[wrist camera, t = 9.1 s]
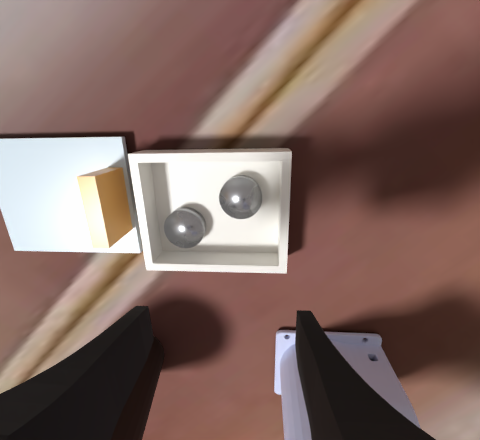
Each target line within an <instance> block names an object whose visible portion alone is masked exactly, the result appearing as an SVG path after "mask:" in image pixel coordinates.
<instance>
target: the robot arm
mask: <svg viewBox="0 0 480 440" xmlns="http://www.w3.org/2000/svg"><path fill="white" fill-rule="evenodd" d="M285 335H289V336H285ZM364 338H366V339H364ZM153 341H154V337H153V331H152V325H151V320H150V314H149V308H148V306H136V307H134V308H133V309H132V310H130V311H129V312H128V313H126V314H125V315H124V316H123V317H121V318H120V319H119V320H118V321H116V322H115V323H114V324H113V325H111V326H110V327H109V328H108V329H106V330H105V331H104V332H102V333H101V334H100V335H98V336H97V337H96V338H94V339H93V340H92V341H90V342H89V343H87V344H86V345H85V346H83V347H82V348H81V349H79V350H78V351H76V352H75V353H73V354H72V355H70V356H69V357H67V358H66V359H64V360H62V361H61V362H59V363H57V364H56V365H54V366H53V367H51V368H49V369H47V370H45V371H44V372H42V373H40V374H38V375H36V376H35V377H33V378H31V379H29V380H27V381H26V382H24V383H22V384H20V385H18V386H16V387H14V388H12V389H10V390H8V391H5V392H3V393H1V394H0V440H111V437H112V435H113V432H114V430H115V427H116V424H117V422H118V419H119V417H120V415H121V412H122V410H123V408H124V406H125V404H126V402H127V400H128V398H129V396H130V394H131V392H132V390H133V388H134V385H135V383H136V381H137V379H138V377H139V375H140V373H141V371H142V369H143V367H144V365H145V363H146V361H147V358H148V355H149V353H150V350H151V347H152V344H153ZM381 343H382V338H381V337H380V335H379V334H371V333H346V332H324V331H323V329H322V328H321V326H320V325H319V323H318V321H317V320H316V318H315V317H314V315H313V313H312V312H311V311H297V320H296V330H279V331H277V332H276V351H275V384H274V390H275V393H277V394H280V395H282V410H283V425H284V440H436V439H434V438H433V437H431V436H430V435H429V434H427V433H426V432H424V431H423V430H422V429H421V428H420V425H419V422H418V419H417V416H416V414H415V411H414V409H413V407H412V405H411V403H410V401H409V399H408V397H407V395H406V393H405V391H404V389H403V387H402V385H401V383H400V382H399V380H398V378H397V376H396V374H395V372H394V370H393V368H392V366H391V364H390V362H389V361H388V359H387V357H386V355H385V353H384V351H383V349H382V347H381Z"/></svg>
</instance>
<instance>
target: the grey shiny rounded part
mask: <svg viewBox="0 0 480 440" xmlns="http://www.w3.org/2000/svg"><path fill="white" fill-rule="evenodd" d="M164 232H165V235H166V237H167V238H168V240H169V241H170V242H171V243H172V244H174V245H176V246H178V247H181V248H192V247H194V246H196V245H198V244H199V243H200V241H201V240H202V238H203V236H204V235H205V232H206V221H205V219H204V217H203V215H202V214H201V213H200V212H199V211H197V210H196V209H194V208H191V207H180V208H177V209H176V210H174V211H173V212H172V213H171V214H170V215H169V216H168V217H167V218H166V220H165V223H164Z"/></svg>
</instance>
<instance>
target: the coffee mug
mask: <svg viewBox="0 0 480 440" xmlns="http://www.w3.org/2000/svg"><path fill="white" fill-rule="evenodd" d="M153 337H154V341H153V344H152V347H151V350H150V353H149V355H148V358H147V361H146V363H145V365H144V367H143V369H142V371H141V373H140V375H139V377H138V379H137V381H136V383H135V385H134V388H133V390H132V392H131V394H130V396H129V398H128V400H127V402H126V404H125V406H124V408H123V410H122V412H121V415H120V417H119V419H118V422H117V424H116V427H115V430H114V432H113V435H112V437H111V440H142V437H143V434H144V430H145V426H146V423H147V419H148V415H149V412H150V408H151V404H152V401H153V397H154V393H155V390H156V386H157V382H158V379H159V375H160V371H161V368H162V364H163V360H164V350H163V347H162V345H161V343H160V342H159V341H158V339H157V338H156V337H155V336H153Z"/></svg>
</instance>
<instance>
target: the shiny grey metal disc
mask: <svg viewBox="0 0 480 440" xmlns="http://www.w3.org/2000/svg"><path fill="white" fill-rule="evenodd" d="M219 202H220V205H221V208H222V209H223V211H224V212H225V213H226V214H227V215H229V216H230V217H232V218H235V219H247V218H250V217H252V216H253V215H255V214H256V213H257V212H258V210H259V209H260V207H261V204H262V191H261V188H260V186H259V184H258V183H257V182H256V181H255V180H254V179H253V178H251V177H249V176H246V175H237V176H234V177H231V178H230V179H228V180H227V181H226V182H225V184H224V185H223V187H222V188H221V191H220V194H219Z"/></svg>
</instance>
